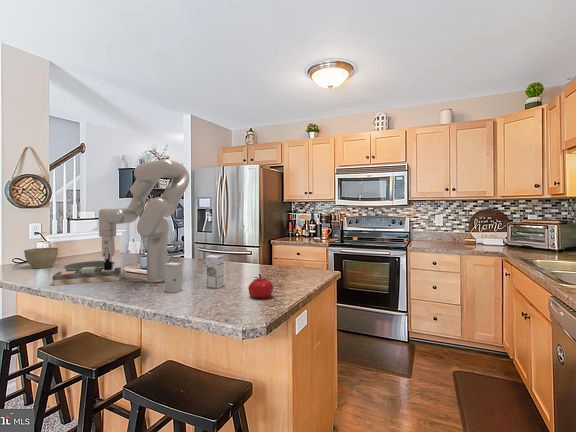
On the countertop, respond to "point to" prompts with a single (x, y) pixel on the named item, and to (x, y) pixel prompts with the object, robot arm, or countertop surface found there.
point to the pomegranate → (260, 288)
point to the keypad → (86, 277)
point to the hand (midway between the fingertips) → (108, 269)
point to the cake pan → (85, 265)
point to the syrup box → (215, 271)
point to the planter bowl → (41, 257)
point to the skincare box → (173, 277)
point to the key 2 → (108, 270)
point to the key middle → (88, 269)
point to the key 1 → (68, 273)
